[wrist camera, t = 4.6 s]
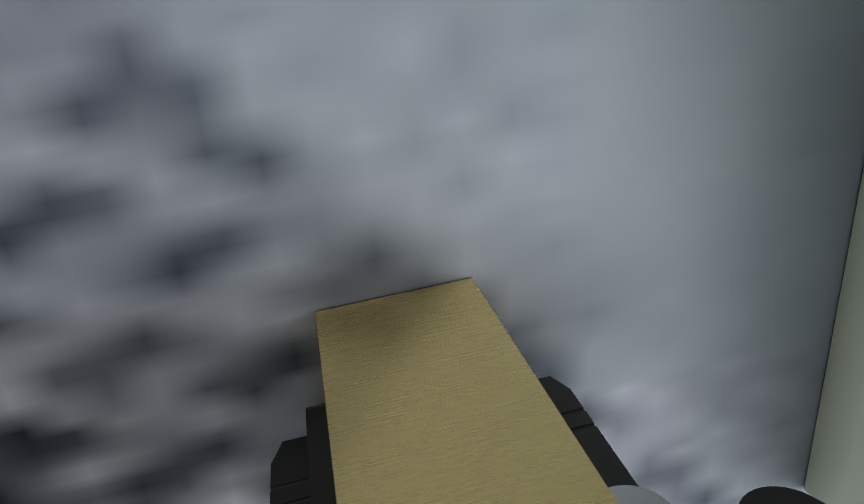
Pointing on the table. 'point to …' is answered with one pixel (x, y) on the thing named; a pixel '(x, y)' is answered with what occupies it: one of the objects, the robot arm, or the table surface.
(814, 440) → the box
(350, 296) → the table surface
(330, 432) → the tan brushed block
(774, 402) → the table surface
